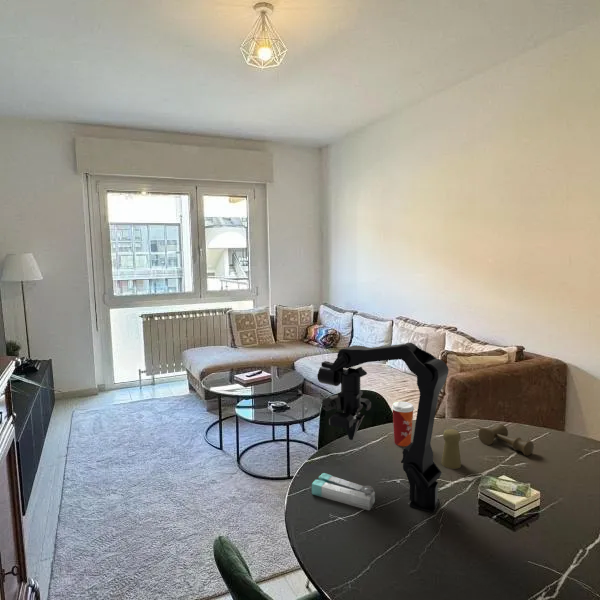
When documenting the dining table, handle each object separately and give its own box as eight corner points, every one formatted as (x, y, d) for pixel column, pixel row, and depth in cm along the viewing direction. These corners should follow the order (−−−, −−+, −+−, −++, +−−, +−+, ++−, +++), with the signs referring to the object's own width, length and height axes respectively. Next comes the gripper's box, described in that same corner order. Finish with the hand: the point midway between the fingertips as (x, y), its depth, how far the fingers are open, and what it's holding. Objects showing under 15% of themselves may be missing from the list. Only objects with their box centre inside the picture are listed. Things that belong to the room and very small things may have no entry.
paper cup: (408, 449, 151) (408, 410, 150) (387, 444, 156) (387, 405, 154) (417, 441, 158) (418, 403, 156) (397, 436, 162) (397, 399, 160)
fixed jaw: (376, 499, 122) (376, 487, 122) (369, 510, 117) (369, 498, 116) (321, 484, 130) (321, 473, 130) (311, 494, 125) (311, 482, 125)
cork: (458, 459, 144) (459, 427, 142) (463, 469, 138) (464, 435, 136) (439, 459, 144) (440, 426, 143) (443, 468, 138) (444, 434, 137)
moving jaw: (363, 496, 124) (363, 485, 123) (358, 500, 122) (358, 489, 121) (323, 482, 131) (323, 472, 131) (318, 486, 129) (318, 476, 129)
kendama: (521, 461, 143) (468, 437, 160) (538, 454, 148) (485, 432, 165) (522, 443, 142) (469, 421, 159) (539, 437, 148) (486, 416, 164)
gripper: (338, 377, 143) (339, 424, 145) (312, 394, 127) (313, 446, 129) (371, 381, 138) (371, 429, 140) (348, 399, 122) (349, 454, 123)
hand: (351, 439), depth 133 cm, fingers closed
